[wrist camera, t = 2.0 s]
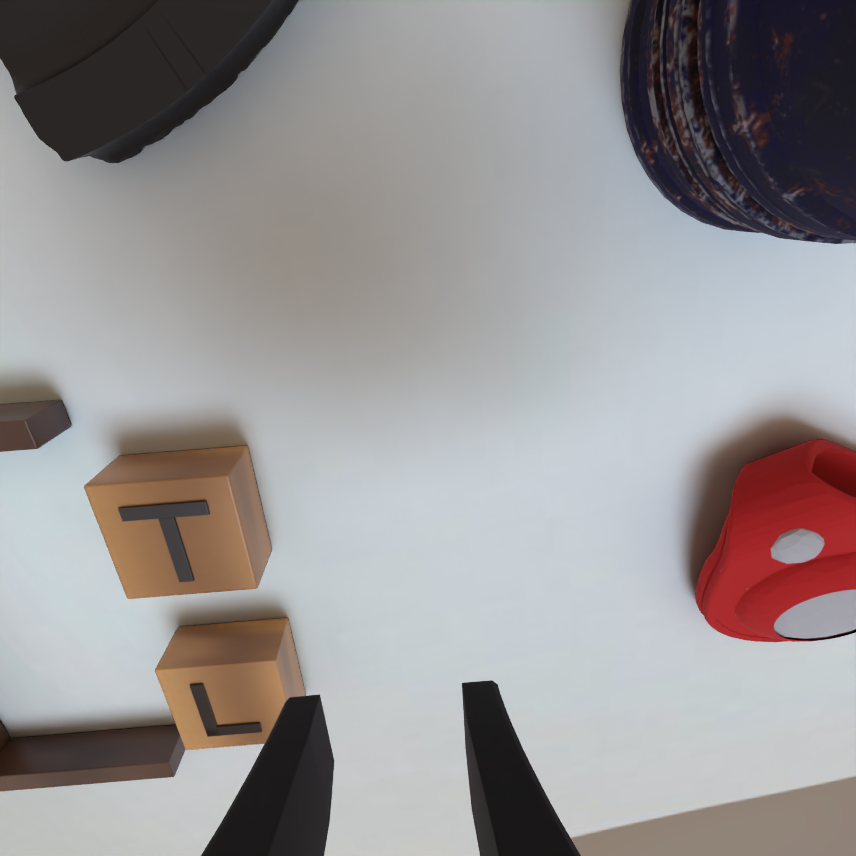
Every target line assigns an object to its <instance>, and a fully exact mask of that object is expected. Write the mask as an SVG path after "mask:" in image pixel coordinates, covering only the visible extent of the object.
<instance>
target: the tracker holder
mask: <svg viewBox="0 0 856 856" xmlns="http://www.w3.org/2000/svg"><path fill="white" fill-rule="evenodd" d="M695 595H696V603H697V605H698V608H699V610H700V611H701V613H702V614H703V615H704V616H705V619H706V621H707V622H708V623H709V625H710V626H711V627H713V628H714V629H715V630H717V631H718V632H720V633H723V634H725V635H727V636H730V637H734V638H739V639H743V640H750V641H762V642H783V641H817V640H825V639H832V638H837V637H841V636H845V635H849V634H852V633H855V632H856V452H855V451H852V450H850V449H847V448H845V447H842V446H840V445H838V444H835V443H833V442H830V441H827V440H823V439H818V440H811V441H808V442H805V443H802V444H799V445H797V446H794V447H791V448H788V449H786V450H783V451H780V452H778V453H775V454H772V455H769V456H767V457H764V458H761V459H758V460H756V461H753V462H750V463H748V464H747V465H745V466H744V467H743V469H742V470H741V471H740V473H739V474H738V477H737V479H736V482H735V484H734V487H733V493H732V500H731V506H730V511H729V512H728V515H727V517H726V520H725V522H724V525H723V527H722V531H721V534H720V537H719V539H718V542H717V544H716V546H715V548H714V550H713V551H712V553H711V554H710V556H709V557H708V558H707V560H706V562H705V564H704V566H703V568H702V570H701V573H700V576H699V579H698V583H697V587H696V594H695Z"/></svg>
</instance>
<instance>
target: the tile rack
mask: <svg viewBox="0 0 856 856" xmlns="http://www.w3.org/2000/svg"><path fill="white" fill-rule="evenodd" d="M70 427H71V424H70V421H69V419H68V416H67V413H66V411H65V408H64V405H63V403H62V401H61V400H53V401H40V402H27V403H14V404H1V405H0V452H2V451H15V450H28V449H38V448H39V447H41V446H42V445H44V444H45V443H47V442H48V441H50V440H51V439H53V438H54V437H56V436H58V435H59V434H61V433H62V432H64V431H65V430H67V429H68V428H70ZM184 751H185V747H184V744H183V741H182V739H181V736H180V734H179V731H178V729H177V726H176V725H167V726H155V727H143V728H131V729H119V730H107V731H95V732H83V733H71V734H59V735H47V736H35V737H23V738H11V739H10V737H9V736H8V734H7V732H6V730H5V729H4V727H3V725H2V724H1V722H0V791H11V790H23V789H34V788H46V787H58V786H70V785H82V784H94V783H106V782H118V781H130V780H142V779H154V778H165V777H174V776H175V774H176V771H177V769H178V766H179V764H180V761H181V759H182V756H183V754H184Z"/></svg>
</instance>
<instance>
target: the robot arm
mask: <svg viewBox="0 0 856 856" xmlns="http://www.w3.org/2000/svg"><path fill="white" fill-rule="evenodd" d="M462 691H463V709H464V727H465V744H466V757H467V767H468V776H469V786H470V796H471V806H472V813H473V818H474V824H475V829H476V835H477V840H478V846H479V851H480V856H581V855H580V854H579V852H578V850H577V849H576V847H575V845H574V844H573V842H572V840H571V838H570V837H569V835H568V833H567V831H566V830H565V828H564V826H563V825H562V823H561V821H560V819H559V817H558V816H557V814H556V812H555V810H554V808H553V807H552V805H551V803H550V801H549V799H548V797H547V795H546V794H545V792H544V790H543V788H542V786H541V784H540V782H539V780H538V778H537V776H536V774H535V772H534V770H533V768H532V767H531V765H530V763H529V760H528V758H527V756H526V754H525V752H524V750H523V748H522V746H521V744H520V741H519V739H518V737H517V735H516V733H515V730H514V728H513V726H512V723H511V721H510V719H509V716H508V714H507V711H506V708H505V706H504V703H503V700H502V697H501V695H500V691H499V688H498V685H497V684H496V683H495V682H493V681H481V682H468V683H462ZM333 770H334V758H333V753H332V749H331V744H330V740H329V735H328V730H327V726H326V721H325V716H324V712H323V707H322V703H321V698H320V695H311V696H299V697H290V698H289V699H288V700H287V701H286V702H285V703H284V706H283V708H282V710H281V712H280V714H279V716H278V718H277V720H276V722H275V724H274V727H273V729H272V731H271V733H270V735H269V737H268V739H267V741H266V743H265V744H264V746H263V748H262V750H261V752H260V754H259V756H258V758H257V760H256V762H255V763H254V765H253V767H252V769H251V771H250V773H249V775H248V777H247V778H246V780H245V782H244V784H243V785H242V787H241V789H240V791H239V792H238V794H237V796H236V798H235V800H234V801H233V803H232V805H231V807H230V808H229V810H228V812H227V814H226V815H225V817H224V819H223V821H222V822H221V824H220V826H219V827H218V829H217V831H216V832H215V834H214V836H213V837H212V839H211V840H210V842H209V844H208V845H207V847H206V848H205V850H204V852H203V853H202V855H201V856H324V851H325V846H326V840H327V833H328V827H329V821H330V809H331V797H332V784H333Z"/></svg>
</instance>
